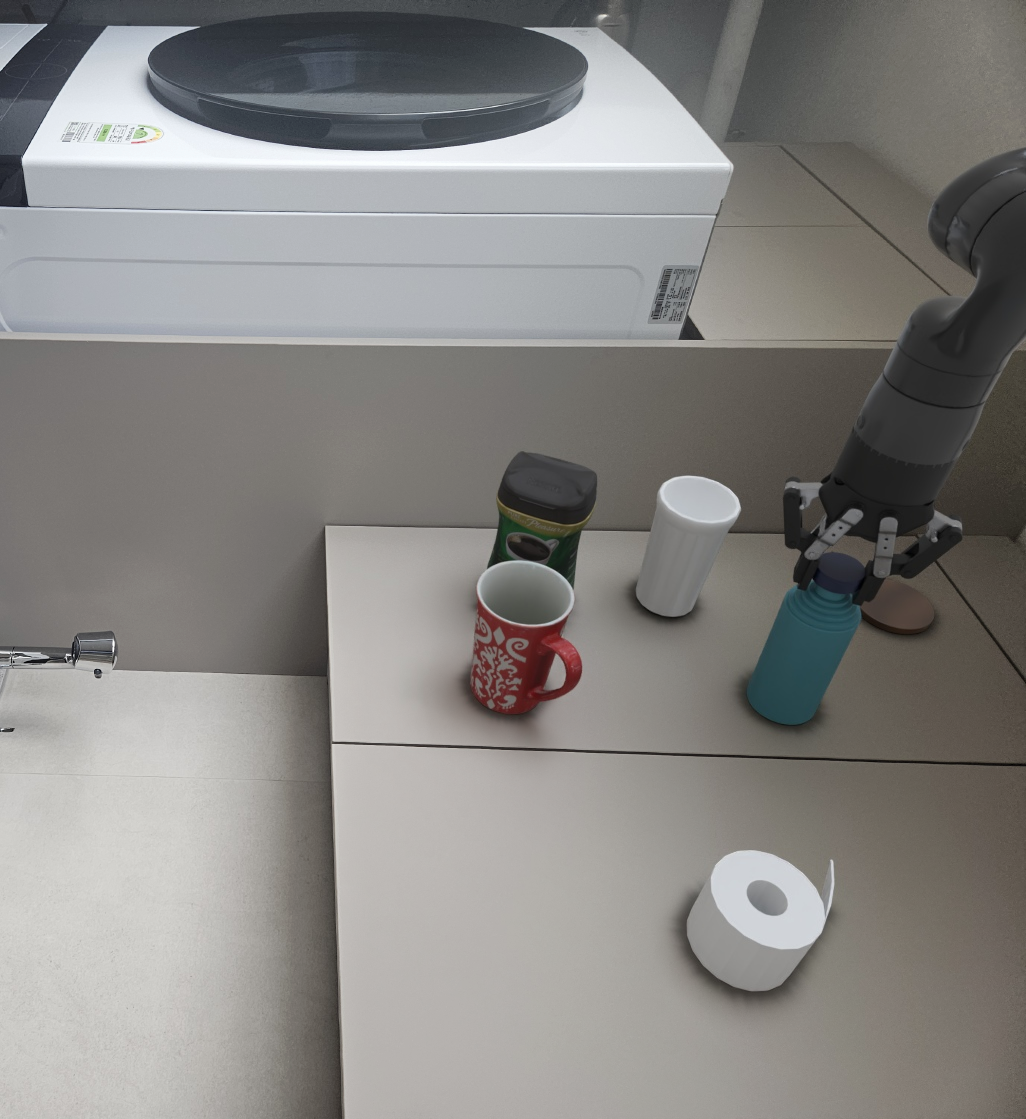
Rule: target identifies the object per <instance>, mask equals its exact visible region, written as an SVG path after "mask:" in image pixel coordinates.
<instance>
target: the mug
mask: <svg viewBox="0 0 1026 1119" xmlns="http://www.w3.org/2000/svg"><path fill="white" fill-rule="evenodd" d="M486 569H487V568H486ZM486 569H485V570H484V571H483V572H482V573H481V574H480V575H479V578H478V579H477V582H476V586H475V593H476V598H477V600H476V612H475V620H474V621H475V624H474V635H473V646H472V660H471V669H470V677H469V678H470V680H469V682H470V689H471V691H472V694H473V696H474V697H475V698H476V700H477V701H478V702H479V703H480V704H482V705H483V706H485V707H486V708H488V709H490V710H492V711H494V712H497V713H499V714H506V715H519V714H523V713H526V712H529V711H531V710H532V709H534V708H536V706H537V705H538V704H540V703H542V702H548V701H553V700H556V699H559V698H561V697H563V696H565V695H567V694H569V693H570V692H572V691H573V690H575V688H576V687H577V686H578V684H579V682H580V681H581V678H582V674H583V661H582V658H581V655H580V653H579V651H578V649H577V648H576V646H575V645H573V643H572V642H570V641H569V640H567V639H565V638H564V637H562V636H563V633H564V630H565V627H566V623H567V621H568V618H569V616H570V614H571V613H572V611H573V609H574V606H575V602H576V598H575V592H574V590H573V589H572V587H571V585H570V584H569V582H568V581H567V580H566V579H565V578H564V577H563V576H562V575H561V574H559V573H558V572H556V571H555V570H553V569H551V568H549V567H547V566H545V565H542V564H539V563H535V562H530V561H506V562H502V563H498V564H496V565H494V566H492V567H490V568H488V569H487V570H486ZM556 655H558V657H559V658H560V660H561V661H562V663H563V665H564V669H565V678H564V681H563V684H562V686H561V687H558V688H555V689H549V690H548V689H545V688H546V685H547V682H548V679H549V676H550V672H551V670H552V666H553V663H554V661H555V657H556Z"/></svg>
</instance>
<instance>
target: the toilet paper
mask: <svg viewBox="0 0 1026 1119" xmlns="http://www.w3.org/2000/svg"><path fill="white" fill-rule="evenodd" d="M834 866H835V865H834V860H833V859H830V860H829V864H828V868H827V871H826V875H825V878H824V882H823V887H822V890H821V893H820V894H819V891H818V889H817V888H816V886H815V885H814V884H813V883H812V881H811V880H810V879H809V878H808V876H806V874H804V873H803V872H802V871H801V870H800V869H798V868H797V867H796V866H794V865H793V864H792V863H790V862H789V861H787V860H785V859H783V858H780V857H779V856H777V855H775V854H772V853H769V852H765V851H760V850H756V849H750V850H748V849H746V850H737V851H734V852H731V853H728V854H726V855H724V856H723V857H722V858H721V859H720V860H719V861H718V862H717V863H716V864H715V865H714V866H713V868H712V870H711V872H710V874H709V876H708V878H707V880H706V882H705V883H704V885H703V886H702V889H701V891H700V893H699V894H698V896H697V898H696V899H695V902H694V903H693V905H692V907H691V909H690V911H689V914H688V916H687V920H686V936H687V940H688V942H689V944H690V948H691V950H692V952H693V953H694V955H695V956H696V958H697V959H698V960H699V962H700V964H701V965H702V966H703V968H705V969H706V970H707V971H709V973H711V974H712V975H713V976H714V977H715V978H717V979H718V980H720V981H722V982H724V983H726V984H727V985H729V986H731V987H733V988H736V989H739V990H744V991H748V992H768V991H770V990H772V989H775V988H777V987H780V986H781V985H782V984H783V983H784V982H785V981H786V980H787V979H788V978H789V976H790V975H791V974H792V973H793V972H794V970H795V969H796V968H797V966H798V965H799V964H800V962H801V961H802V959H804V957H805V955H806V954H807V953H808V952H809V951H810V949H811V948H812V946H813V945H814V944H815V942H816V941H817V940H818V938H819V937H820V935H821V934H822V933H823V931H824V927H825V924H826V921H827V918H828V915H829V913H830V910H831V907H832V902H833V896H834V889H835V867H834Z"/></svg>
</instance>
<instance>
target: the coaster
mask: <svg viewBox="0 0 1026 1119" xmlns="http://www.w3.org/2000/svg"><path fill="white" fill-rule="evenodd" d="M851 595H853V593H851ZM860 610H861V619H864V620H865V621H866V622H868V623H869V624H871V625H873V626H875V627H876V628H879V629H881V630H883V631H885V632H890V633H894V634H899V635H914V634H919V633H922V632H924V631H926V630H927V629H929V627H930V626H931V624H932V622H933V621H934V618H935V609H934V607H933V605H932V603H931V601H929V600H928V598H927V597H926V596H925V595H924V594H922V592H920V591H918V589H915V588H914V587H912V586H911V585H908V584H906V583H903V582H900V581H897V580H894V579H890V578H886V579H885V580H884V582H883V584H882V586H881V587H880V589H879V591H878V593H877V594H876V596H875V598H874V599H873V600H872V601H870V602H866V601H864V602H863V604H862V606H860Z"/></svg>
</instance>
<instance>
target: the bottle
mask: <svg viewBox="0 0 1026 1119" xmlns="http://www.w3.org/2000/svg"><path fill="white" fill-rule="evenodd" d="M797 586H798V583H796V584H795V585H794V586H792V587H791V588H790V589H788V590H787V591H786V593H785V594H784V597H783V600H782V602H781V605H780V607H779V609H778V612H777V614H776V616H775V619H774V620H773V624H772V626H771V629H770V631H769V632H768V636H767V638H766V641H765V643H764V646H763V648H762V651H761V653H760V655H759V658H758V660H757V663H756V665H755V666H754V670H753V672H752V674H751V677H750V679H749V682H748V684H747V687H746V691H745V692H746V698H747V701H748V702H749V704H750V706H751V708H753V709H754V710H755V711H756V712H757V713H758V714H759V715H761V716H762V717H764V718H766V719H767V720H769V721H772V722H775V723H778V724H782V725H789V726H790V725H791V726H793V725H801V724H805V723H807V722H809V721H810V720H811V719H812V718H814V715H815V714H816V712H817V710H818V708H819V706H820V705H821V702H822V700H823V698H824V696H825V694H826V692H827V690H828V688H829V686H830V684H831V682H832V680H833V677H834V675H835V674H836V672H837V669H838V668H839V666H840V664H841V662H842V660H843V658H844V656H845V654H846V652H847V650H848V648H849V645H850V644H851V641H852V640H853V637H854V635H855V634H856V632H857V629H858V628H859V626H860V624H861V621H862V617H861V610H860V606H858V605H855V604H852V595H851V594H852V593H851V594H836V593H832V592H829V591H827V590H825V589H823V588H821V587H820V586H818V585H817V584H816V583H815V582H814V580H813V579H812V580H811V582H810V584H809V586H808V588H807V590H806V591H803V590H799V589H797Z"/></svg>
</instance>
